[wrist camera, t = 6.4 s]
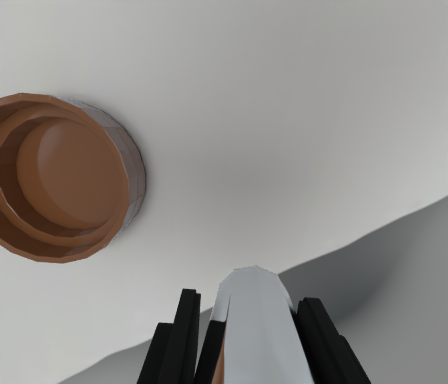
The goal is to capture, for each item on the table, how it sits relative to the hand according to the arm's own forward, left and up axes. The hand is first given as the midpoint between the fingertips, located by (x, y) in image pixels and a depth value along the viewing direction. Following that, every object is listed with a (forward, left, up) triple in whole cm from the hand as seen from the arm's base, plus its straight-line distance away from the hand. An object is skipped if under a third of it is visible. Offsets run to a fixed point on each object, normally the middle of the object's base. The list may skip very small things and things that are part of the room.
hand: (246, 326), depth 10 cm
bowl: (-2, -17, -17) cm, 24 cm away
